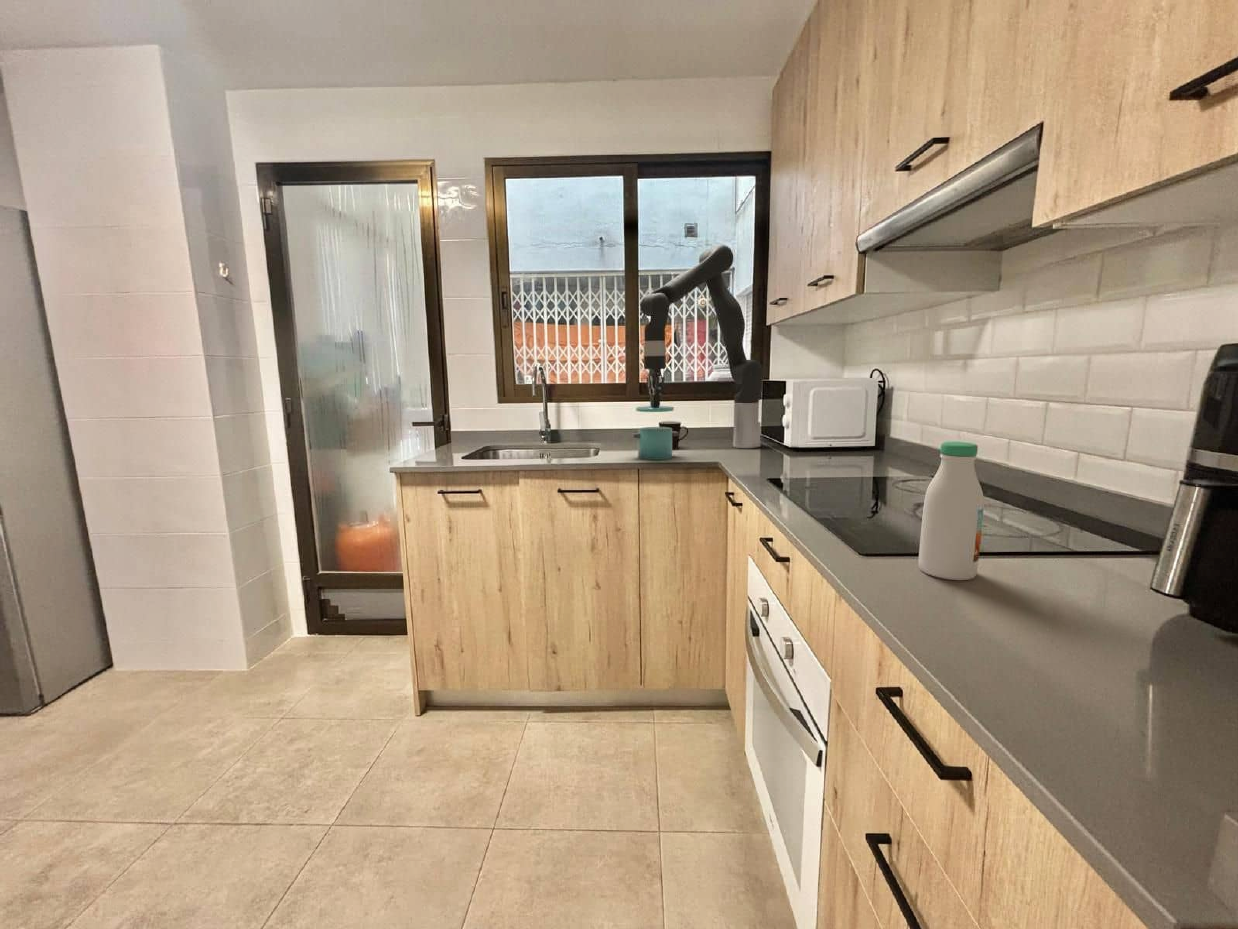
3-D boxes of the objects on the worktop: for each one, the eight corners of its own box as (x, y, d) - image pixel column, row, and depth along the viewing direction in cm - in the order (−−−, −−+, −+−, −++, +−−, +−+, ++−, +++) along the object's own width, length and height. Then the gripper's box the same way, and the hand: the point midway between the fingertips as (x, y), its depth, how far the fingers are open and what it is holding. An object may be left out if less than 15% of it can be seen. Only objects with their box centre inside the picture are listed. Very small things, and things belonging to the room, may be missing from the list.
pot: (671, 453, 196) (671, 426, 195) (682, 458, 185) (683, 429, 183) (628, 455, 193) (628, 427, 191) (637, 461, 181) (636, 431, 180)
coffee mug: (654, 447, 211) (654, 422, 209) (672, 445, 215) (672, 420, 213) (670, 451, 201) (671, 424, 199) (689, 449, 205) (690, 423, 203)
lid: (664, 408, 194) (664, 391, 193) (680, 410, 182) (680, 393, 181) (630, 409, 190) (630, 392, 189) (644, 412, 178) (644, 394, 177)
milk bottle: (963, 586, 77) (977, 449, 73) (908, 570, 83) (919, 443, 80) (985, 573, 81) (1000, 443, 78) (931, 559, 88) (943, 438, 84)
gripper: (671, 354, 177) (671, 406, 180) (659, 355, 190) (659, 403, 193) (650, 354, 175) (650, 407, 178) (638, 355, 188) (639, 404, 192)
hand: (655, 405), depth 186 cm, fingers closed on lid, 3 cm apart
